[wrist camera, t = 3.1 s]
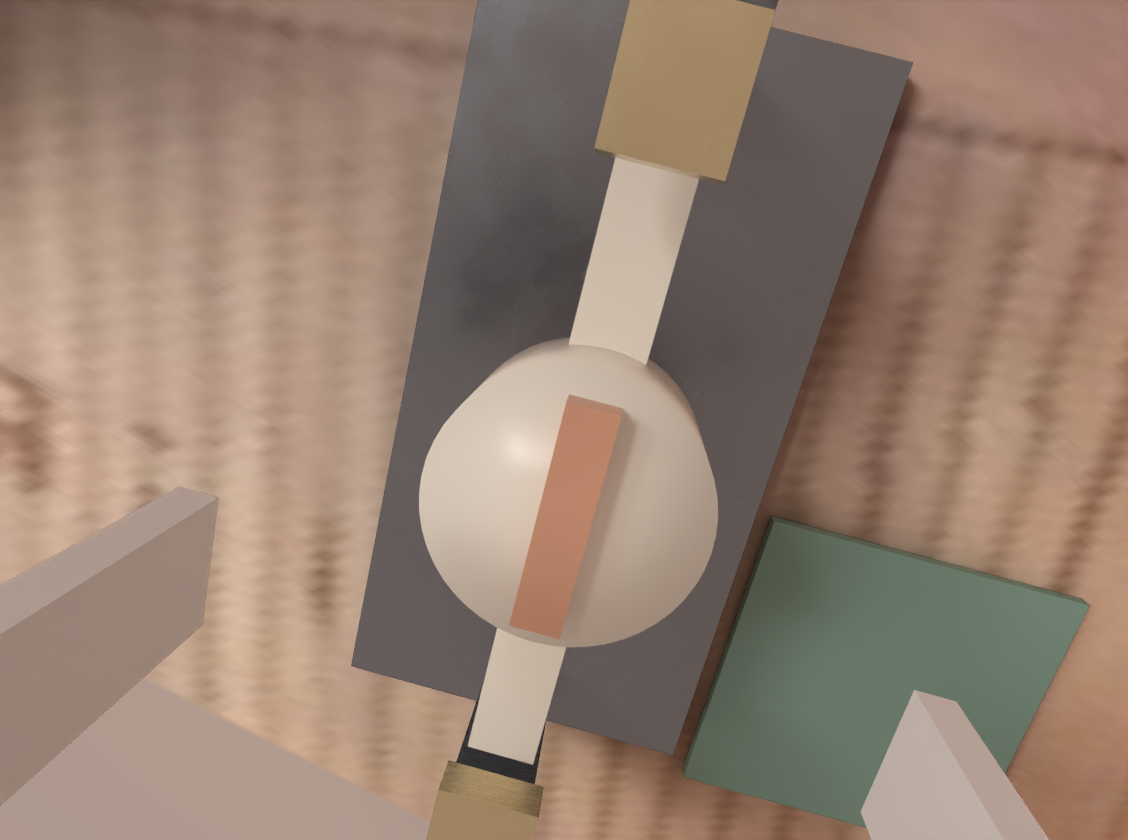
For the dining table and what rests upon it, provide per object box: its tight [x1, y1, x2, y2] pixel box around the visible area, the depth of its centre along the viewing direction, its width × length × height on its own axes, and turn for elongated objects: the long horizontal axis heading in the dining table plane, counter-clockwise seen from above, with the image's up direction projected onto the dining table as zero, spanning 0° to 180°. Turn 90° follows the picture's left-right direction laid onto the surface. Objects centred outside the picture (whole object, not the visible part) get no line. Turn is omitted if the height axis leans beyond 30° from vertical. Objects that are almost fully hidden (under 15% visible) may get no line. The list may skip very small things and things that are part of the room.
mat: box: [683, 516, 1090, 828], centre depth 34 cm, size 14×14×1 cm
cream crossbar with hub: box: [419, 158, 718, 765], centre depth 21 cm, size 22×8×6 cm, turn 166°
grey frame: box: [351, 0, 913, 840], centre depth 25 cm, size 31×16×14 cm, turn 166°
